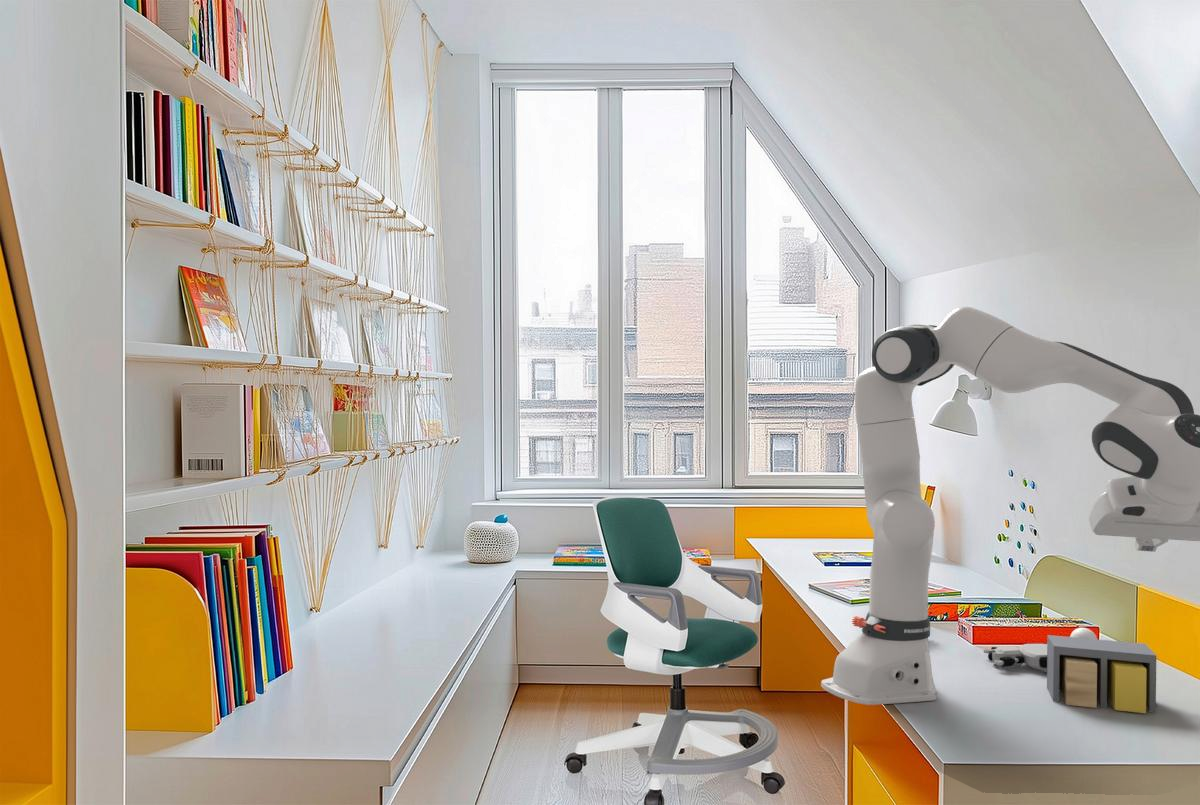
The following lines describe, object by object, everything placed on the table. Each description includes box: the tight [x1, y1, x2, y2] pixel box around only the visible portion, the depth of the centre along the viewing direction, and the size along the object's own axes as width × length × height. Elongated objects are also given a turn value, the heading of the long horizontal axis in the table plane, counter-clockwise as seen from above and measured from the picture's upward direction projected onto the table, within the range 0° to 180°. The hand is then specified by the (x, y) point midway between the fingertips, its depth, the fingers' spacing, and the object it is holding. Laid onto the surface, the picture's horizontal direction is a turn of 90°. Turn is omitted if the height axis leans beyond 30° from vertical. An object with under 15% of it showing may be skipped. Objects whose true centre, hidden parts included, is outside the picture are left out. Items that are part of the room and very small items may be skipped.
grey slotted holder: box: [1046, 634, 1157, 714], centre depth 173 cm, size 9×17×10 cm, turn 70°
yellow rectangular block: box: [1107, 659, 1147, 714], centre depth 170 cm, size 8×5×8 cm, turn 160°
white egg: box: [1069, 627, 1098, 639], centre depth 208 cm, size 8×6×6 cm
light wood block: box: [1059, 655, 1098, 709], centre depth 172 cm, size 8×5×8 cm, turn 160°
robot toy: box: [983, 643, 1047, 673], centre depth 195 cm, size 12×4×15 cm
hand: (1144, 548), depth 161 cm, fingers closed
